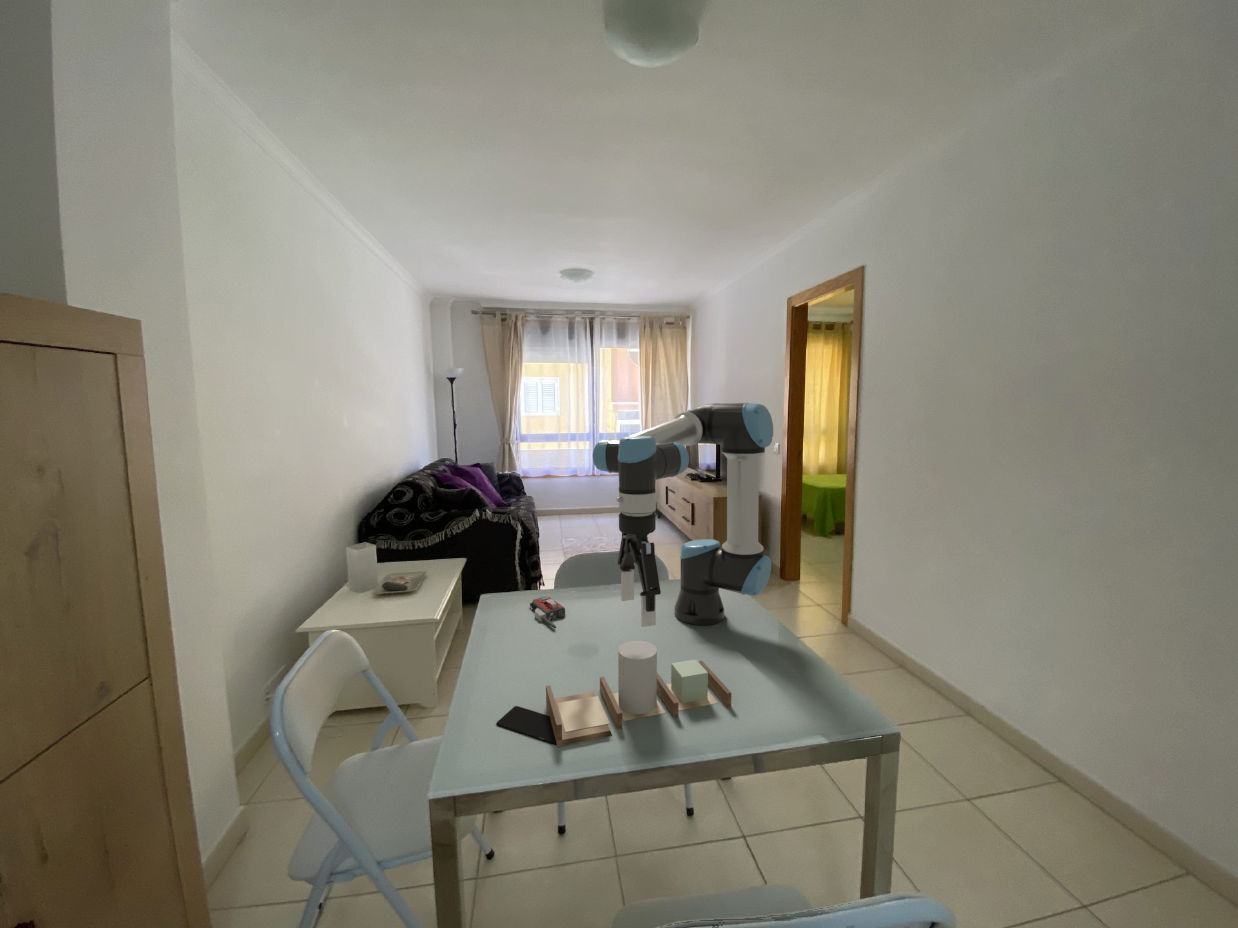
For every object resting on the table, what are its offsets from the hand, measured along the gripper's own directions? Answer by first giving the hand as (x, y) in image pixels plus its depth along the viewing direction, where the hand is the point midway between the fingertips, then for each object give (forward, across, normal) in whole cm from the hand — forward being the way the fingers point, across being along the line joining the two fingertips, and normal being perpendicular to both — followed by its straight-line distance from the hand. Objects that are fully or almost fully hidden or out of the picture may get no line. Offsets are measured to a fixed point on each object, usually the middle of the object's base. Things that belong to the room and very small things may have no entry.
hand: (637, 611), depth 106 cm
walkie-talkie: (+22, -53, -11) cm, 58 cm away
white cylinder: (+20, 0, 0) cm, 21 cm away
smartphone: (+22, -1, -22) cm, 31 cm away
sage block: (+20, 0, +12) cm, 24 cm away
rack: (+22, 0, 0) cm, 22 cm away
